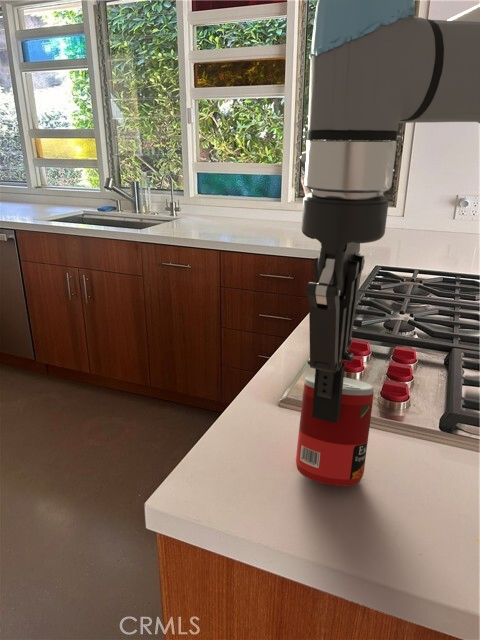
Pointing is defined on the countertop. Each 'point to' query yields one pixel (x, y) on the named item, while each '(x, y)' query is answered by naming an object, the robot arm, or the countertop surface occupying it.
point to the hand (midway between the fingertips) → (325, 416)
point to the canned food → (335, 436)
